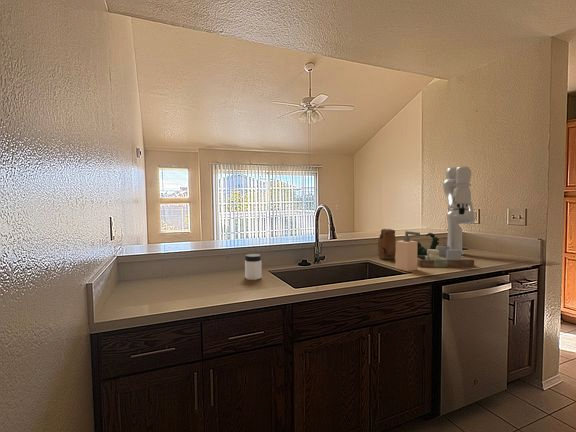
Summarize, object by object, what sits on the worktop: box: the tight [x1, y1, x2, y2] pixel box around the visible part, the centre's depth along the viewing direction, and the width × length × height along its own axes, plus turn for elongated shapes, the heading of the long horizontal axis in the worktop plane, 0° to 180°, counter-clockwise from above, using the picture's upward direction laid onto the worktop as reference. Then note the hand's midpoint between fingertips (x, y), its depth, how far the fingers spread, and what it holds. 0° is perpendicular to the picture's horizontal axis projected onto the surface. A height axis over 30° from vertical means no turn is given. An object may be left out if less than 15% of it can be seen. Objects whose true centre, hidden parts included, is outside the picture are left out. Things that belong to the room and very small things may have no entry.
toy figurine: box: [416, 232, 440, 256], centre depth 221 cm, size 9×19×25 cm
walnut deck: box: [417, 255, 475, 268], centre depth 199 cm, size 15×32×4 cm, turn 90°
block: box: [377, 228, 397, 260], centre depth 217 cm, size 11×8×20 cm
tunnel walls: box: [436, 245, 462, 260], centre depth 199 cm, size 15×8×6 cm, turn 0°
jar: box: [244, 253, 263, 281], centre depth 168 cm, size 9×8×12 cm
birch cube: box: [426, 248, 439, 259], centre depth 198 cm, size 5×5×5 cm
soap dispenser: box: [394, 230, 421, 272], centre depth 184 cm, size 13×9×22 cm
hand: (461, 214), depth 209 cm, fingers closed
